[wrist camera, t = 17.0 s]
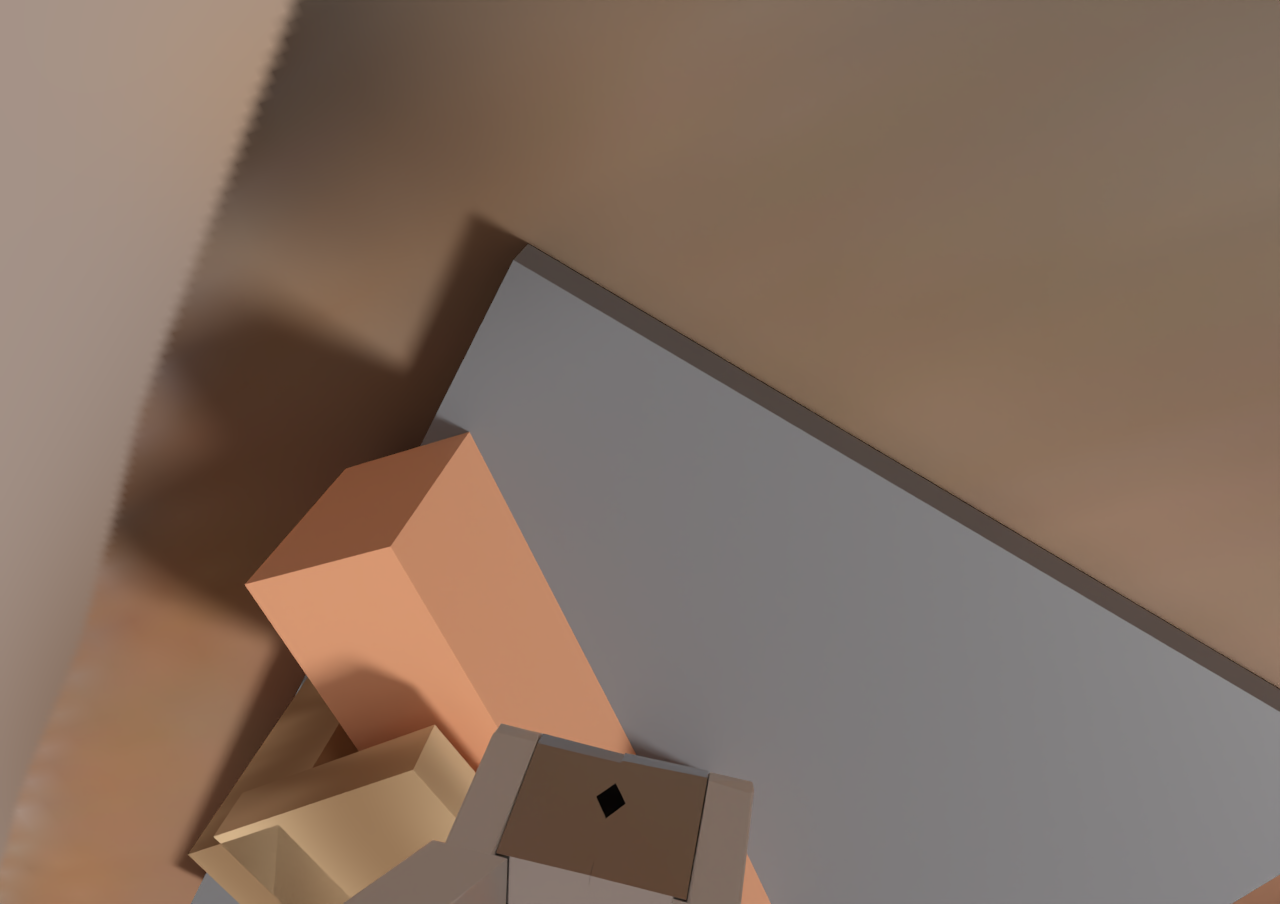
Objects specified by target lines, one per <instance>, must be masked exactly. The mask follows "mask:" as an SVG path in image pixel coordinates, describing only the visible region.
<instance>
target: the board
mask: <svg viewBox="0 0 1280 904" xmlns="http://www.w3.org/2000/svg"><path fill="white" fill-rule="evenodd" d="M467 432H470V434H471V436H472V438H473V440H474V442H475V443H476V445H477V447H478V449H479V451H480V453H481V455H482V457H483V459H484V461H485V463H486V465H487V467H488V469H489V471H490V473H491V474H492V476H493V478H494V480H495V482H496V484H497V486H498V488H499V490H500V492H501V494H502V496H503V498H504V500H505V502H506V504H507V505H508V507H509V509H510V511H511V513H512V515H513V517H514V519H515V521H516V523H517V525H518V527H519V529H520V531H521V533H522V534H523V536H524V538H525V540H526V542H527V544H528V546H529V548H530V550H531V552H532V554H533V556H534V558H535V560H536V562H537V564H538V565H539V567H540V569H541V571H542V573H543V575H544V577H545V579H546V581H547V583H548V585H549V587H550V589H551V591H552V593H553V595H554V596H555V598H556V600H557V602H558V604H559V606H560V608H561V610H562V612H563V614H564V616H565V618H566V620H567V622H568V624H569V626H570V627H571V629H572V631H573V633H574V635H575V637H576V639H577V641H578V643H579V645H580V647H581V649H582V651H583V653H584V655H585V657H586V658H587V660H588V662H589V664H590V666H591V668H592V670H593V672H594V674H595V676H596V678H597V680H598V682H599V684H600V686H601V688H602V689H603V691H604V693H605V695H606V697H607V699H608V701H609V703H610V705H611V707H612V709H613V711H614V713H615V715H616V717H617V718H618V720H619V722H620V724H621V726H622V728H623V730H624V732H625V734H626V736H627V738H628V740H629V742H630V744H631V746H632V748H633V749H634V751H635V753H636V755H637V756H642V757H647V758H651V759H656V760H661V761H665V762H670V763H675V764H679V765H684V766H688V767H693V768H698V769H702V770H707V771H708V774H709V773H710V772H712V773H716V774H720V775H725V776H729V777H733V778H738V779H742V780H746V781H751V782H753V787H754V796H753V805H752V813H751V822H750V830H749V839H748V848H747V855H748V857H749V859H750V861H751V863H752V865H753V867H754V869H755V871H756V873H757V875H758V878H759V880H760V882H761V884H762V886H763V888H764V890H765V892H766V894H767V896H768V899H769V901H770V903H771V904H1232V903H1234V902H1235V901H1237V900H1239V899H1240V898H1242V897H1243V896H1245V895H1247V894H1248V893H1250V892H1252V891H1253V890H1255V889H1257V888H1258V887H1260V886H1262V885H1263V884H1265V883H1267V882H1268V881H1270V880H1271V879H1273V878H1275V877H1276V876H1278V875H1280V689H1278V688H1276V687H1275V686H1273V685H1271V684H1270V683H1268V682H1266V681H1264V680H1263V679H1261V678H1259V677H1258V676H1256V675H1254V674H1253V673H1251V672H1249V671H1248V670H1246V669H1244V668H1243V667H1241V666H1239V665H1238V664H1236V663H1234V662H1232V661H1231V660H1229V659H1227V658H1226V657H1224V656H1222V655H1221V654H1219V653H1217V652H1216V651H1214V650H1212V649H1211V648H1209V647H1207V646H1205V645H1204V644H1202V643H1200V642H1199V641H1197V640H1195V639H1194V638H1192V637H1190V636H1189V635H1187V634H1185V633H1184V632H1182V631H1180V630H1179V629H1177V628H1175V627H1173V626H1172V625H1170V624H1168V623H1167V622H1165V621H1163V620H1162V619H1160V618H1158V617H1157V616H1155V615H1153V614H1152V613H1150V612H1148V611H1146V610H1145V609H1143V608H1141V607H1140V606H1138V605H1136V604H1135V603H1133V602H1131V601H1130V600H1128V599H1126V598H1125V597H1123V596H1121V595H1120V594H1118V593H1116V592H1114V591H1113V590H1111V589H1109V588H1108V587H1106V586H1104V585H1103V584H1101V583H1099V582H1098V581H1096V580H1094V579H1093V578H1091V577H1089V576H1087V575H1086V574H1084V573H1082V572H1081V571H1079V570H1077V569H1076V568H1074V567H1072V566H1071V565H1069V564H1067V563H1066V562H1064V561H1062V560H1061V559H1059V558H1057V557H1055V556H1054V555H1052V554H1050V553H1049V552H1047V551H1045V550H1044V549H1042V548H1040V547H1039V546H1037V545H1035V544H1034V543H1032V542H1030V541H1028V540H1027V539H1025V538H1023V537H1022V536H1020V535H1018V534H1017V533H1015V532H1013V531H1012V530H1010V529H1008V528H1007V527H1005V526H1003V525H1002V524H1000V523H998V522H996V521H995V520H993V519H991V518H990V517H988V516H986V515H985V514H983V513H981V512H980V511H978V510H976V509H975V508H973V507H971V506H969V505H968V504H966V503H964V502H963V501H961V500H959V499H958V498H956V497H954V496H953V495H951V494H949V493H948V492H946V491H944V490H943V489H941V488H939V487H937V486H936V485H934V484H932V483H931V482H929V481H927V480H926V479H924V478H922V477H921V476H919V475H917V474H916V473H914V472H912V471H910V470H909V469H907V468H905V467H904V466H902V465H900V464H899V463H897V462H895V461H894V460H892V459H890V458H889V457H887V456H885V455H884V454H882V453H880V452H878V451H877V450H875V449H873V448H872V447H870V446H868V445H867V444H865V443H863V442H862V441H860V440H858V439H857V438H855V437H853V436H851V435H850V434H848V433H846V432H845V431H843V430H841V429H840V428H838V427H836V426H835V425H833V424H831V423H830V422H828V421H826V420H825V419H823V418H821V417H819V416H818V415H816V414H814V413H813V412H811V411H809V410H808V409H806V408H804V407H803V406H801V405H799V404H798V403H796V402H794V401H792V400H791V399H789V398H787V397H786V396H784V395H782V394H781V393H779V392H777V391H776V390H774V389H772V388H771V387H769V386H767V385H766V384H764V383H762V382H760V381H759V380H757V379H755V378H754V377H752V376H750V375H749V374H747V373H745V372H744V371H742V370H740V369H739V368H737V367H735V366H733V365H732V364H730V363H728V362H727V361H725V360H723V359H722V358H720V357H718V356H717V355H715V354H713V353H712V352H710V351H708V350H706V349H705V348H703V347H701V346H700V345H698V344H696V343H695V342H693V341H691V340H690V339H688V338H686V337H685V336H683V335H681V334H680V333H678V332H676V331H674V330H673V329H671V328H669V327H668V326H666V325H664V324H663V323H661V322H659V321H658V320H656V319H654V318H653V317H651V316H649V315H647V314H646V313H644V312H642V311H641V310H639V309H637V308H636V307H634V306H632V305H631V304H629V303H627V302H626V301H624V300H622V299H621V298H619V297H617V296H615V295H614V294H612V293H610V292H609V291H607V290H605V289H604V288H602V287H600V286H599V285H597V284H595V283H594V282H592V281H590V280H588V279H587V278H585V277H583V276H582V275H580V274H578V273H577V272H575V271H573V270H572V269H570V268H568V267H567V266H565V265H563V264H562V263H560V262H558V261H556V260H555V259H553V258H551V257H550V256H548V255H546V254H545V253H543V252H541V251H540V250H538V249H536V248H535V247H533V246H531V245H529V244H527V246H526V247H525V248H524V249H523V250H522V251H521V252H520V253H519V254H518V255H517V256H516V258H515V259H514V260H513V262H512V264H511V266H510V268H509V270H508V272H507V274H506V276H505V278H504V280H503V282H502V284H501V286H500V288H499V290H498V292H497V294H496V296H495V298H494V300H493V302H492V304H491V306H490V308H489V310H488V312H487V314H486V316H485V318H484V320H483V322H482V324H481V326H480V328H479V330H478V332H477V334H476V336H475V338H474V340H473V342H472V344H471V346H470V348H469V350H468V352H467V354H466V356H465V358H464V360H463V362H462V363H461V365H460V367H459V369H458V371H457V373H456V375H455V377H454V379H453V381H452V383H451V385H450V387H449V389H448V391H447V393H446V395H445V397H444V399H443V401H442V403H441V405H440V407H439V409H438V411H437V413H436V415H435V417H434V419H433V421H432V423H431V425H430V427H429V429H428V431H427V433H426V435H425V437H424V439H423V441H422V443H421V445H420V446H423V445H426V444H430V443H433V442H436V441H440V440H443V439H447V438H450V437H453V436H457V435H460V434H463V433H467ZM307 678H308V677H307V675H305V677H304V679H303V681H302V683H301V685H300V687H299V689H298V691H299V690H300V688H301V687H302V685H303V684H304V682H305V681H306V679H307ZM298 691H297V693H298ZM297 693H296V694H297ZM191 904H239V903H238V902H237V901H236V900H235V899H234V898H233V897H232V896H231V895H230V894H229V893H228V892H227V891H226V890H225V889H224V888H222V887H221V886H220V885H219V884H218V883H217V882H216V881H215V880H214V879H213V878H212V877H211V876H210V875H209V874H208V873H206V875H205V877H204V879H203V881H202V883H201V885H200V887H199V889H198V891H197V893H196V895H195V897H194V899H193V901H192V903H191Z"/></svg>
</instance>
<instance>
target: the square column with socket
mask: <svg viewBox="0 0 1280 904" xmlns="http://www.w3.org/2000/svg"><path fill="white" fill-rule="evenodd" d="M245 586H246V587H247V589H248V590H249V592H250V593H251V595H252V596H253V598H254V599H255V601H256V602H257V603H258V605H259V606H260V608H261V609H262V611H263V612H264V614H265V615H266V617H267V618H268V620H269V621H270V622H271V624H272V625H273V627H274V628H275V630H276V631H277V633H278V634H279V636H280V637H281V639H282V640H283V641H284V643H285V644H286V646H287V647H288V649H289V650H290V652H291V653H292V655H293V656H294V658H295V659H296V660H297V662H298V663H299V665H300V666H301V668H302V669H303V671H304V672H305V674H306V675H307V677H308V678H309V679H310V681H311V682H312V684H313V685H314V687H315V688H316V690H317V691H318V693H319V694H320V696H321V697H322V698H323V700H324V701H325V703H326V704H327V706H328V707H329V709H330V710H331V712H332V713H333V715H334V716H335V717H336V719H337V720H338V722H339V723H340V725H341V726H342V728H343V729H344V731H345V732H346V734H347V735H348V736H349V738H350V739H351V741H352V742H353V744H354V745H355V747H356V748H357V750H358V751H362V750H364V749H367V748H370V747H373V746H376V745H379V744H381V743H384V742H387V741H390V740H393V739H396V738H398V737H401V736H404V735H407V734H410V733H412V732H415V731H418V730H421V729H424V728H427V727H429V726H432V725H436V727H437V728H438V729H439V730H440V731H441V733H442V734H443V735H444V736H445V737H446V738H447V740H448V741H449V742H450V743H451V744H452V746H453V747H454V748H455V749H456V750H457V751H458V753H459V754H460V755H461V756H462V757H463V758H464V760H465V761H466V762H467V763H468V764H469V766H470V767H471V768H472V769H473V770H474V771H475V773H476V771H477V769H478V767H479V764H480V762H481V760H482V758H483V755H484V753H485V751H486V748H487V746H488V744H489V742H490V739H491V737H492V735H493V733H494V732H495V731H496V730H497V728H498V727H499V726H500V724H501V723H502V724H506V725H510V726H514V727H518V728H522V729H526V730H530V731H535V732H539V733H543V734H547V735H551V736H555V737H559V738H563V739H567V740H571V741H574V742H578V743H582V744H586V745H590V746H594V747H598V748H602V749H605V750H609V751H613V752H617V753H621V754H625V753H628V754H633V755H636V753H635V751H634V749H633V748H632V746H631V744H630V742H629V740H628V738H627V736H626V734H625V732H624V730H623V728H622V726H621V724H620V722H619V720H618V718H617V717H616V715H615V713H614V711H613V709H612V707H611V705H610V703H609V701H608V699H607V697H606V695H605V693H604V691H603V689H602V688H601V686H600V684H599V682H598V680H597V678H596V676H595V674H594V672H593V670H592V668H591V666H590V664H589V662H588V660H587V658H586V657H585V655H584V653H583V651H582V649H581V647H580V645H579V643H578V641H577V639H576V637H575V635H574V633H573V631H572V629H571V627H570V626H569V624H568V622H567V620H566V618H565V616H564V614H563V612H562V610H561V608H560V606H559V604H558V602H557V600H556V598H555V596H554V595H553V593H552V591H551V589H550V587H549V585H548V583H547V581H546V579H545V577H544V575H543V573H542V571H541V569H540V567H539V565H538V564H537V562H536V560H535V558H534V556H533V554H532V552H531V550H530V548H529V546H528V544H527V542H526V540H525V538H524V536H523V534H522V533H521V531H520V529H519V527H518V525H517V523H516V521H515V519H514V517H513V515H512V513H511V511H510V509H509V507H508V505H507V504H506V502H505V500H504V498H503V496H502V494H501V492H500V490H499V488H498V486H497V484H496V482H495V480H494V478H493V476H492V474H491V473H490V471H489V469H488V467H487V465H486V463H485V461H484V459H483V457H482V455H481V453H480V451H479V449H478V447H477V445H476V443H475V442H474V440H473V438H472V436H471V434H470V432H467V433H463V434H460V435H457V436H453V437H450V438H447V439H443V440H440V441H436V442H433V443H430V444H426V445H423V446H420V447H416V448H413V449H410V450H406V451H403V452H400V453H396V454H393V455H389V456H386V457H383V458H379V459H376V460H373V461H369V462H366V463H363V464H359V465H356V466H353V467H349V468H346V469H345V470H344V471H343V472H342V473H341V474H340V476H339V477H338V478H337V479H336V480H335V481H334V482H333V484H332V485H331V486H330V487H329V488H328V489H327V491H326V492H325V493H324V494H323V495H322V496H321V497H320V499H319V500H318V501H317V502H316V503H315V504H314V505H313V507H312V508H311V509H310V510H309V511H308V512H307V513H306V515H305V516H304V517H303V518H302V519H301V520H300V522H299V523H298V524H297V525H296V526H295V527H294V528H293V530H292V531H291V532H290V533H289V534H288V535H287V536H286V538H285V539H284V540H283V541H282V542H281V543H280V544H279V546H278V547H277V548H276V549H275V550H274V551H273V553H272V554H271V555H270V556H269V557H268V558H267V559H266V561H265V562H264V563H263V564H262V565H261V566H260V567H259V569H258V570H257V571H256V572H255V573H254V574H253V576H252V577H251V578H250V579H249V580H248V581H247V582H246V584H245ZM708 775H709V774H708ZM741 904H771V903H770V901H769V899H768V896H767V894H766V892H765V890H764V888H763V886H762V884H761V882H760V880H759V878H758V875H757V873H756V871H755V869H754V867H753V865H752V863H751V861H750V859H749V857H748V855H747V856H746V865H745V873H744V882H743V891H742V899H741Z"/></svg>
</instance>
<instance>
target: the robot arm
mask: <svg viewBox="0 0 1280 904" xmlns="http://www.w3.org/2000/svg"><path fill="white" fill-rule="evenodd" d="M753 796H754V787H753V782H751V781H746V780H742V779H738V778H733V777H729V776H725V775H720V774H716V773H712V772H710V773H709V775H708V771H707V770H702V769H698V768H693V767H688V766H684V765H679V764H675V763H670V762H665V761H661V760H656V759H651V758H647V757H642V756H637V755H633V754H628V753H625V754H621V753H617V752H613V751H609V750H605V749H602V748H598V747H594V746H590V745H586V744H582V743H578V742H574V741H571V740H567V739H563V738H559V737H555V736H551V735H547V734H543V733H539V732H535V731H530V730H526V729H522V728H518V727H514V726H510V725H506V724H502V723H501V724H500V726H499V727H498V728H497V730H496V731H495V732H494V733H493V735H492V737H491V739H490V742H489V744H488V746H487V748H486V751H485V753H484V755H483V758H482V760H481V762H480V764H479V767H478V769H477V771H476V773H475V776H474V778H473V780H472V783H471V785H470V787H469V789H468V792H467V794H466V796H465V799H464V801H463V803H462V805H461V808H460V810H459V812H458V814H457V817H456V819H455V821H454V824H453V826H452V828H451V830H450V833H449V835H448V837H447V840H446V842H441V841H436V840H432V841H430V842H429V843H427V844H426V845H425V846H423V847H422V848H420V849H419V850H418V851H416V852H415V853H413V854H412V855H411V856H409V857H408V858H406V859H405V860H404V861H402V862H401V863H399V864H398V865H397V866H395V867H394V868H392V869H391V870H390V871H388V872H387V873H385V874H384V875H382V876H381V877H380V878H378V879H377V880H375V881H374V882H373V883H371V884H370V885H368V886H367V887H366V888H364V889H363V890H361V891H360V892H359V893H357V894H356V895H354V896H353V897H352V898H350V899H349V900H347V901H346V902H344V903H343V904H741V899H742V891H743V882H744V873H745V865H746V856H747V848H748V839H749V830H750V822H751V813H752V805H753Z"/></svg>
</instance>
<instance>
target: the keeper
mask: <svg viewBox="0 0 1280 904" xmlns="http://www.w3.org/2000/svg"><path fill="white" fill-rule="evenodd" d="M474 776H475V771H474V770H473V769H472V768H471V767H470V766H469V764H468V763H467V762H466V761H465V760H464V758H463V757H462V756H461V755H460V754H459V753H458V751H457V750H456V749H455V748H454V747H453V746H452V744H451V743H450V742H449V741H448V740H447V738H446V737H445V736H444V735H443V734H442V733H441V731H440V730H439V729H438V728H437V727H436V725H432V726H429V727H427V728H424V729H421V730H418V731H415V732H412V733H410V734H407V735H404V736H401V737H398V738H396V739H393V740H390V741H387V742H384V743H381V744H379V745H376V746H373V747H370V748H367V749H364V750H362V751H358V750H357V748H356V747H355V745H354V744H353V742H352V741H351V739H350V738H349V736H348V735H347V734H346V732H345V731H344V729H343V728H342V726H341V725H340V723H339V722H338V720H337V719H336V717H335V716H334V715H333V713H332V712H331V710H330V709H329V707H328V706H327V704H326V703H325V701H324V700H323V698H322V697H321V696H320V694H319V693H318V691H317V690H316V688H315V687H314V685H313V684H312V682H311V681H310V679H309V678H307V679H306V681H305V682H304V684H303V685H302V687H301V688H300V690H299V691H298V693H297V694H296V695H295V697H294V698H293V700H292V701H291V703H290V704H289V706H288V707H287V709H286V710H285V712H284V713H283V715H282V716H281V718H280V719H279V721H278V722H277V724H276V725H275V726H274V728H273V729H272V731H271V732H270V734H269V735H268V737H267V738H266V740H265V741H264V743H263V744H262V746H261V747H260V749H259V750H258V752H257V753H256V755H255V756H254V757H253V759H252V760H251V762H250V763H249V765H248V766H247V768H246V769H245V771H244V772H243V774H242V775H241V777H240V778H239V780H238V781H237V783H236V784H235V786H234V787H233V788H232V790H231V791H230V793H229V794H228V796H227V797H226V799H225V800H224V802H223V803H222V805H221V806H220V808H219V809H218V811H217V812H216V814H215V815H214V817H213V818H212V819H211V821H210V822H209V824H208V825H207V827H206V828H205V830H204V831H203V833H202V834H201V836H200V837H199V839H198V840H197V842H196V843H195V845H194V846H193V848H192V849H191V850H190V852H189V853H188V855H189V856H190V857H191V858H192V859H193V860H194V861H195V862H196V863H197V864H198V865H199V866H200V867H201V868H202V869H203V870H205V871H206V872H207V873H208V874H209V875H210V876H211V877H212V878H213V879H214V880H215V881H216V882H217V883H218V884H219V885H220V886H221V887H222V888H224V889H225V890H226V891H227V892H228V893H229V894H230V895H231V896H232V897H233V898H234V899H235V900H236V901H237V902H238V903H239V904H343V903H344V902H346V901H347V900H349V899H350V898H352V897H353V896H354V895H356V894H357V893H359V892H360V891H361V890H363V889H364V888H366V887H367V886H368V885H370V884H371V883H373V882H374V881H375V880H377V879H378V878H380V877H381V876H382V875H384V874H385V873H387V872H388V871H390V870H391V869H392V868H394V867H395V866H397V865H398V864H399V863H401V862H402V861H404V860H405V859H406V858H408V857H409V856H411V855H412V854H413V853H415V852H416V851H418V850H419V849H420V848H422V847H423V846H425V845H426V844H427V843H429V842H430V841H432V840H436V841H441V842H446V840H447V837H448V835H449V833H450V830H451V828H452V826H453V824H454V821H455V819H456V817H457V814H458V812H459V810H460V808H461V805H462V803H463V801H464V799H465V796H466V794H467V792H468V789H469V787H470V785H471V783H472V780H473V778H474Z"/></svg>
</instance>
